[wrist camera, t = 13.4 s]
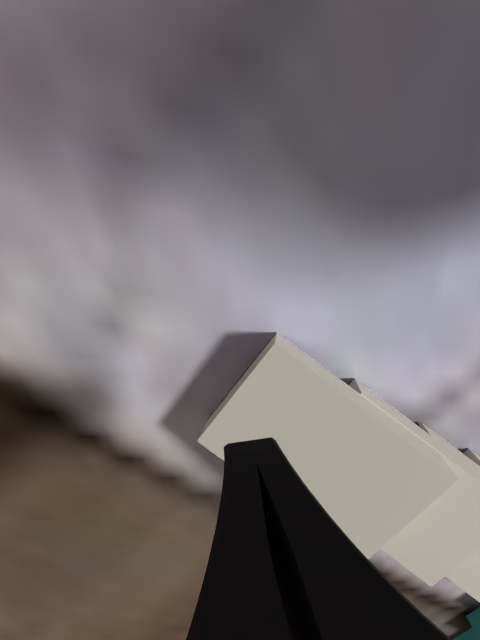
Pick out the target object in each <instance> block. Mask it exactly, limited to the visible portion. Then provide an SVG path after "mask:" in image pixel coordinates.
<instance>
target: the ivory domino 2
mask: <svg viewBox="0 0 480 640" xmlns="http://www.w3.org/2000/svg"><path fill="white" fill-rule="evenodd" d="M349 386H350V387H351V388H353V389H354V390H356V391H357V392H358V393H360V394H361V395H362V396H364V397H365V398H366V399H368V400H369V401H370V402H372V403H373V404H374V405H376V406H377V407H378V408H380V409H381V410H382V411H384V412H385V413H387V414H388V415H389V416H391V417H392V418H393V419H395V420H396V421H397V422H399V423H400V424H401V425H403V426H404V427H405V428H407V429H408V430H409V431H411V432H412V433H413V434H415V435H416V436H418V437H419V438H420V439H422V440H423V441H424V442H426V443H427V444H428V445H430V446H431V447H432V448H434V449H435V450H436V451H438V452H439V453H440V454H441V456H442V457H443V458H444V460H445V461H446V463H447V464H448V465H449V467H450V468H451V470H452V471H453V472H454V474H455V475H456V477H457V478H458V479H459V480H457V481H456V482H455V483H454V484H453V485H452V486H451V487H450V488H448V489H447V490H446V491H445V492H444V493H443V494H442V495H440V496H439V497H438V498H437V499H436V500H435V501H434V502H433V503H431V504H430V505H429V506H428V507H427V508H426V509H425V510H424V511H422V512H421V513H420V514H419V515H418V516H417V517H416V518H414V519H413V520H412V521H411V522H410V523H409V524H408V525H407V526H405V527H404V528H403V529H402V530H401V531H400V532H399V533H397V534H396V535H395V536H394V537H393V538H392V539H391V540H390V541H388V542H387V543H386V544H385V545H384V546H383V547H382V548H380V549H381V550H383V551H384V552H385V553H387V554H388V555H389V556H391V557H392V558H393V559H395V560H396V561H397V562H399V563H400V564H401V565H403V566H404V567H405V568H407V569H408V570H409V571H411V572H412V573H413V574H415V575H416V576H417V577H419V578H420V579H421V580H423V581H424V582H425V583H427V584H428V585H429V586H431V587H432V586H433V585H434V584H435V583H437V582H438V581H439V580H441V579H442V578H443V577H444V576H446V575H447V574H448V573H450V572H451V571H452V570H453V569H455V568H456V567H457V566H458V565H460V564H461V563H462V562H464V561H465V560H466V559H467V558H469V557H470V556H471V555H473V554H474V553H475V552H476V551H478V550H479V549H480V472H478V471H477V470H476V469H474V468H473V467H472V466H470V465H469V464H468V463H466V462H465V461H464V460H462V459H461V458H460V457H458V456H457V455H456V454H454V453H453V452H452V451H450V450H449V449H448V448H447V447H445V446H444V445H443V444H441V443H440V442H439V441H437V440H436V439H435V438H433V437H432V436H431V435H429V434H428V433H427V432H425V431H424V430H423V429H421V428H420V427H419V426H417V425H416V424H415V423H413V422H412V421H411V420H409V419H408V418H407V417H405V416H404V415H403V414H401V413H400V412H399V411H397V410H396V409H395V408H393V407H392V406H391V405H389V404H388V403H387V402H386V401H384V400H383V399H382V398H380V397H379V396H378V395H376V394H375V393H374V392H372V391H371V390H370V389H368V388H367V387H366V386H364V385H363V384H362V383H360V382H359V381H358V380H356V379H355V378H354V379H353V381H352V382H351V383H350V384H349Z"/></svg>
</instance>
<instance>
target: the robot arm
mask: <svg viewBox="0 0 480 640" xmlns="http://www.w3.org/2000/svg"><path fill="white" fill-rule="evenodd" d="M186 640H451V639H450V638H449V637H448V636H447V635H445V634H444V633H443V632H442V631H441V630H440V629H439V628H438V627H437V626H435V625H434V624H433V623H432V622H431V621H430V620H429V619H428V618H427V617H425V616H424V615H423V614H422V613H421V612H420V611H419V610H418V609H417V608H416V607H415V606H414V605H413V604H412V603H411V602H410V601H409V600H408V599H407V598H406V597H405V596H404V595H403V594H402V593H401V592H400V591H399V590H397V589H396V588H395V587H394V586H393V585H392V584H391V583H390V582H389V581H388V579H387V578H386V577H385V576H384V575H383V574H382V573H381V572H380V571H379V570H378V569H377V568H376V567H375V566H374V565H373V564H372V563H371V562H370V561H369V560H368V559H367V558H366V557H365V555H364V554H363V553H362V552H361V551H360V550H359V549H358V548H357V547H356V546H355V544H354V543H353V542H352V541H351V540H350V539H349V538H348V537H347V535H346V534H345V533H344V532H343V531H342V530H341V528H340V527H339V526H338V525H337V524H336V523H335V521H334V520H333V519H332V518H331V517H330V515H329V514H328V513H327V512H326V511H325V509H324V508H323V507H322V505H321V504H320V503H319V502H318V500H317V499H316V498H315V497H314V495H313V494H312V493H311V491H310V490H309V489H308V488H307V486H306V485H305V484H304V482H303V481H302V479H301V478H300V477H299V475H298V474H297V472H296V471H295V470H294V468H293V467H292V465H291V464H290V462H289V461H288V459H287V458H286V456H285V455H284V453H283V452H282V450H281V448H280V447H279V445H278V443H277V442H276V440H275V439H273V438H272V437H270V438H263V439H256V440H249V441H242V442H235V443H228V444H227V445H226V446H225V447H224V478H223V487H222V495H221V501H220V507H219V513H218V519H217V525H216V530H215V534H214V538H213V543H212V547H211V552H210V556H209V561H208V565H207V569H206V573H205V577H204V580H203V584H202V588H201V592H200V595H199V599H198V602H197V606H196V609H195V612H194V616H193V619H192V623H191V626H190V629H189V632H188V635H187V638H186Z"/></svg>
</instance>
